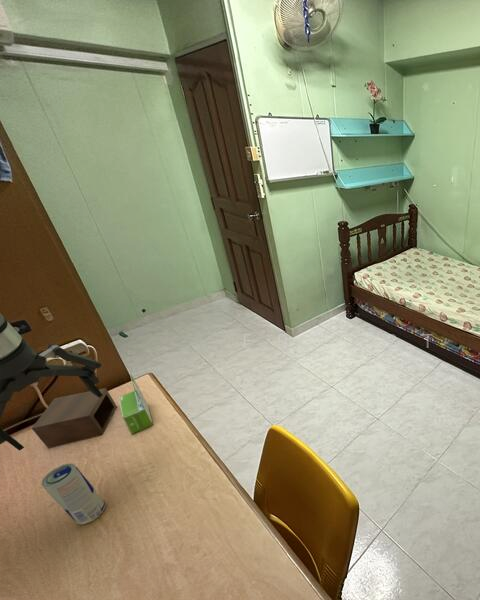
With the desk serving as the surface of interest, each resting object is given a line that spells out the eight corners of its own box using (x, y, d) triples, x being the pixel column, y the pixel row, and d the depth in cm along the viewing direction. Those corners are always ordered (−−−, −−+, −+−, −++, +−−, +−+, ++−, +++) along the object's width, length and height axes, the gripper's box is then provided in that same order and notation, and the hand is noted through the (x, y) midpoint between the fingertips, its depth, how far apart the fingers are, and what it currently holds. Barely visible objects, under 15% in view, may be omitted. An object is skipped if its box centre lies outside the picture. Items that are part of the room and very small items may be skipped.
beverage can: (105, 497, 74) (74, 457, 66) (108, 514, 71) (75, 474, 63) (76, 513, 71) (40, 473, 63) (77, 531, 67) (40, 492, 60)
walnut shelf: (47, 448, 85) (31, 428, 81) (68, 417, 94) (54, 398, 90) (102, 434, 88) (89, 415, 85) (117, 406, 97) (105, 387, 93)
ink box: (127, 413, 95) (107, 379, 88) (148, 404, 98) (130, 370, 92) (131, 435, 89) (110, 399, 82) (154, 424, 92) (135, 389, 85)
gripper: (-120, 420, 43) (-13, 483, 56) (91, 317, 61) (134, 383, 74) (-144, 396, 44) (-35, 462, 58) (67, 303, 63) (113, 370, 76)
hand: (60, 417), depth 66 cm, fingers open, 13 cm apart
